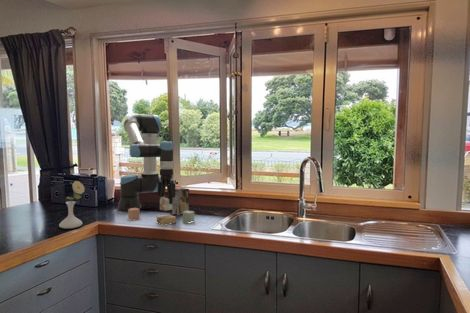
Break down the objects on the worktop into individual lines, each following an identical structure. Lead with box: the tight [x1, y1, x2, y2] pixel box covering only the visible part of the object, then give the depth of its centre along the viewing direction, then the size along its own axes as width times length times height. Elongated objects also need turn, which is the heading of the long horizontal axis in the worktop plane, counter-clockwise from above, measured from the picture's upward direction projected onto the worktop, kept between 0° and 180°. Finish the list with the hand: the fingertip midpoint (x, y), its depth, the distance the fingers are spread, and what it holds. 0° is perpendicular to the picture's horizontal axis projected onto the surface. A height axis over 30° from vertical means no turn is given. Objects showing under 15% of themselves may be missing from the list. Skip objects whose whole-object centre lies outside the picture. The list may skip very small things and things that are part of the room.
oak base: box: [155, 214, 177, 226], centre depth 187 cm, size 8×8×4 cm
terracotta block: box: [127, 208, 141, 221], centre depth 195 cm, size 5×5×6 cm
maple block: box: [159, 197, 172, 212], centre depth 186 cm, size 5×5×6 cm
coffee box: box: [171, 187, 190, 216], centre depth 209 cm, size 9×6×16 cm
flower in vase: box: [58, 180, 86, 230], centre depth 174 cm, size 13×11×25 cm
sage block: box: [182, 210, 195, 222], centre depth 190 cm, size 5×5×6 cm
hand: (166, 208), depth 186 cm, fingers closed on maple block, 5 cm apart
